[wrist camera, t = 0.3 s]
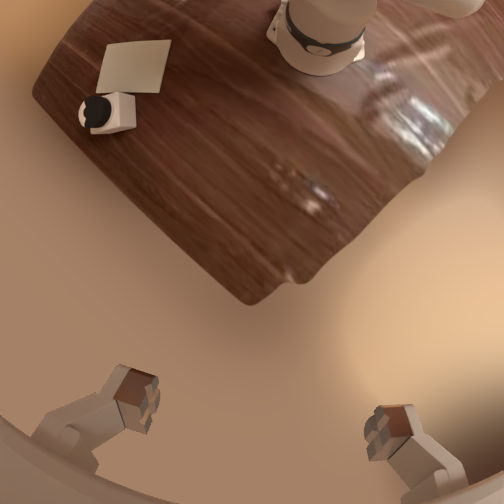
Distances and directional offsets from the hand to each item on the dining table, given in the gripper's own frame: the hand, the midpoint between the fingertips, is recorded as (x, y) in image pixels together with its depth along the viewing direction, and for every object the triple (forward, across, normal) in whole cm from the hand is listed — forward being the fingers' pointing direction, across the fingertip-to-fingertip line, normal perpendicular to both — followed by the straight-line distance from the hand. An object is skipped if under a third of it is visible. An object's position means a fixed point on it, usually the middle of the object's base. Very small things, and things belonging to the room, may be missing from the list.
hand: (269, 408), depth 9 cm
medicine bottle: (+47, +34, -12) cm, 60 cm away
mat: (+47, +34, -23) cm, 62 cm away
